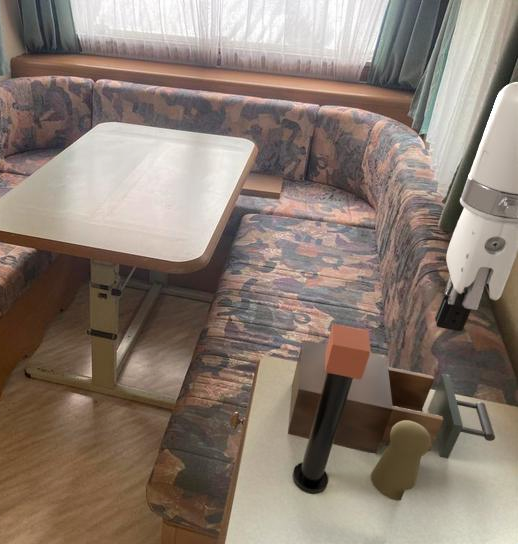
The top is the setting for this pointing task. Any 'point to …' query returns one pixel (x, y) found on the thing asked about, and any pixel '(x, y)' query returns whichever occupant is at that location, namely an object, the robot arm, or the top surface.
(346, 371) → the block
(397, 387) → the drawer
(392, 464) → the cork
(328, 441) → the stand
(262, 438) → the top surface
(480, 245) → the robot arm
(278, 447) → the top surface
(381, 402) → the cabinet
